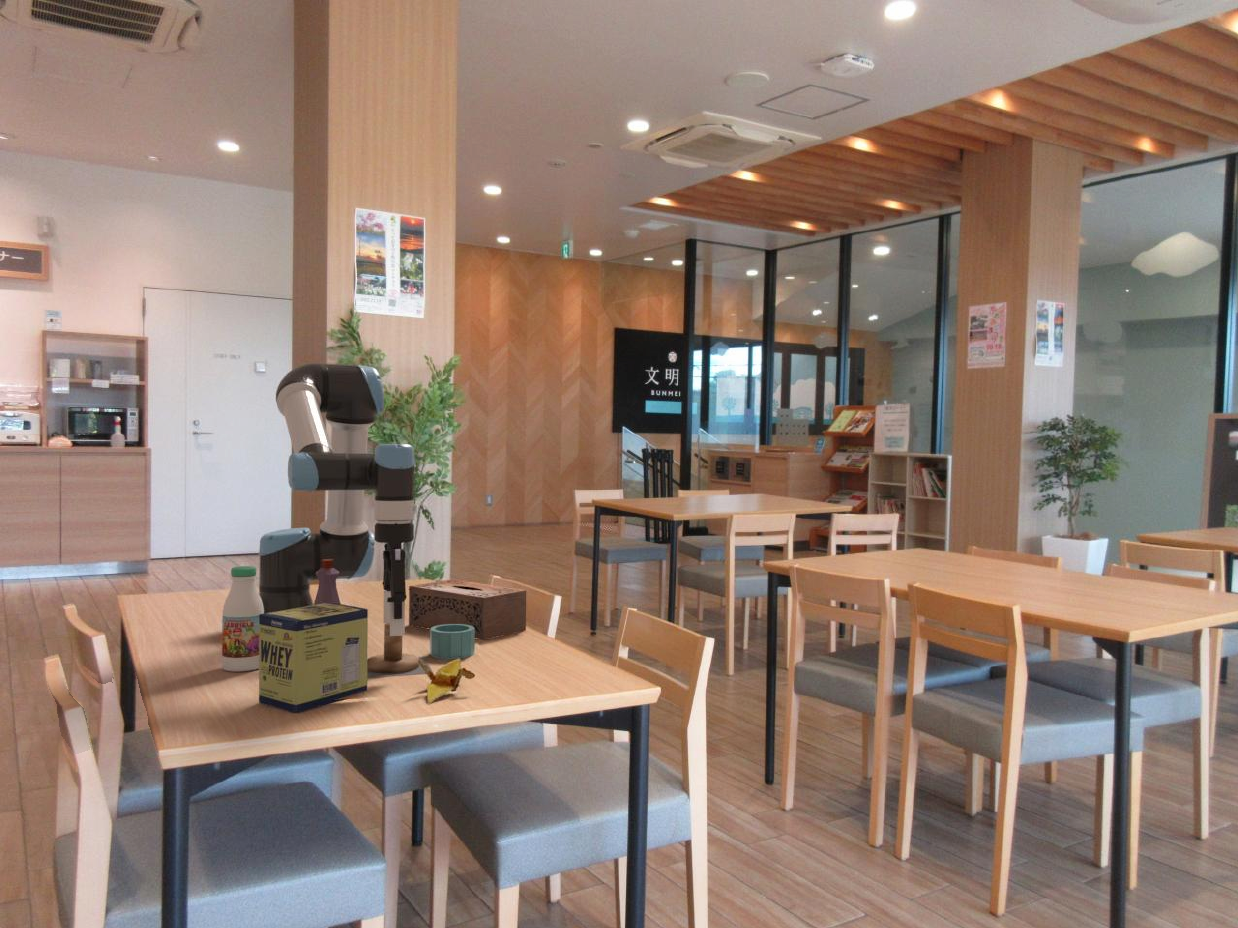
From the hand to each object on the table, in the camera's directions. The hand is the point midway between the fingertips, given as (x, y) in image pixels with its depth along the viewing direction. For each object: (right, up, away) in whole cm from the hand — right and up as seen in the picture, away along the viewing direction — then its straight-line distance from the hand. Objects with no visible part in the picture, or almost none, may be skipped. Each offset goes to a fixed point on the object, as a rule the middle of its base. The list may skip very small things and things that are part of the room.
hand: (393, 629), depth 177 cm
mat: (0, -8, 0) cm, 8 cm away
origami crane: (+13, -9, -14) cm, 21 cm away
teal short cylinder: (+9, -8, +12) cm, 17 cm away
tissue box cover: (+7, -8, +42) cm, 44 cm away
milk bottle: (-30, -8, 0) cm, 31 cm away
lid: (0, -8, 0) cm, 8 cm away
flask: (-18, -8, +13) cm, 24 cm away
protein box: (-9, -9, -20) cm, 23 cm away
